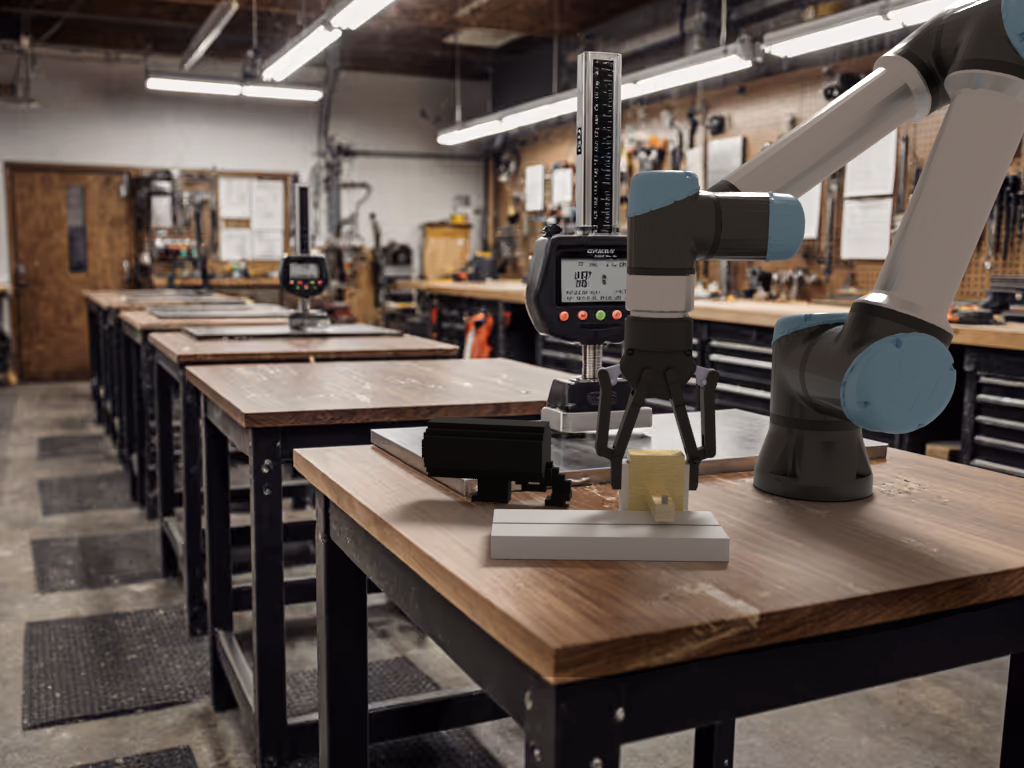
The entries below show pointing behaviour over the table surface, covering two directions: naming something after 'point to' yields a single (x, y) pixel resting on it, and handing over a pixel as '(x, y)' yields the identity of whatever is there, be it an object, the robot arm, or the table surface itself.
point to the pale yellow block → (656, 482)
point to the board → (607, 535)
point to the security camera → (495, 457)
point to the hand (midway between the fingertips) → (652, 517)
